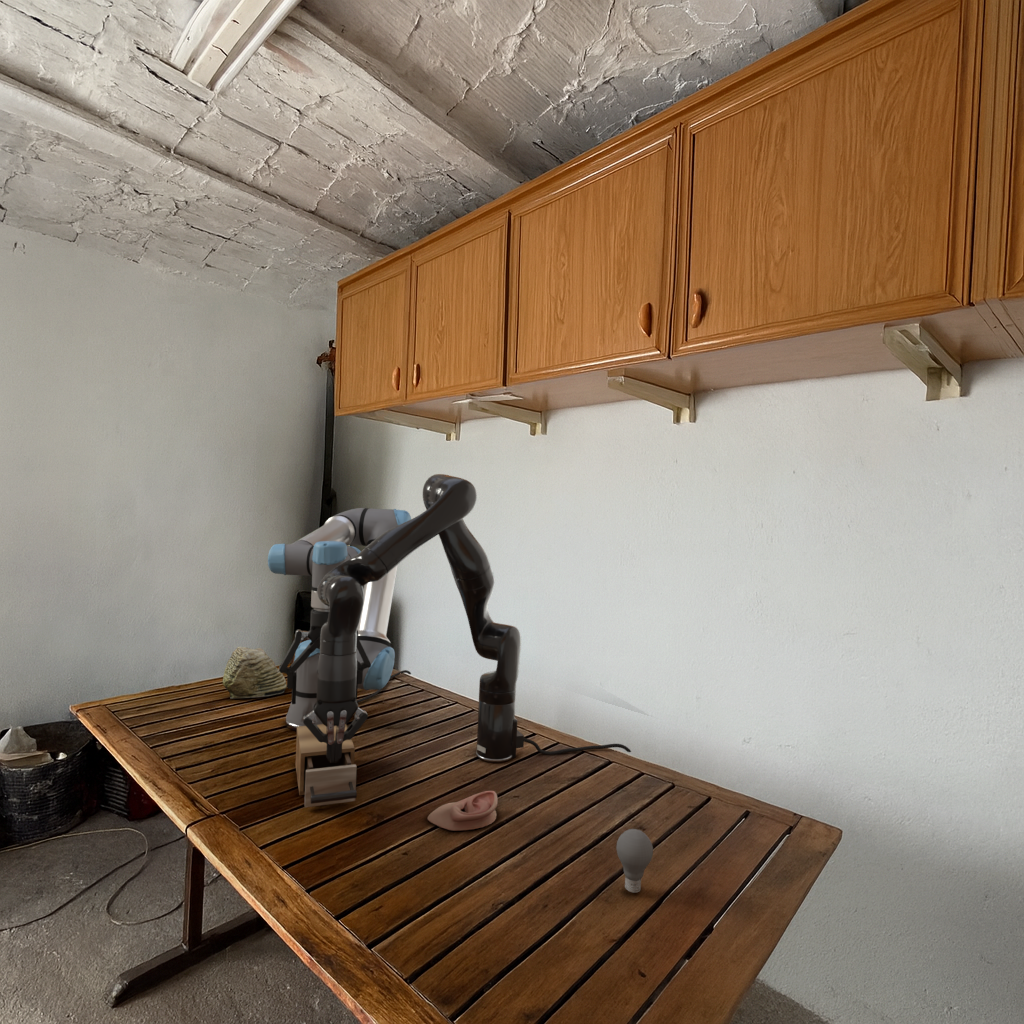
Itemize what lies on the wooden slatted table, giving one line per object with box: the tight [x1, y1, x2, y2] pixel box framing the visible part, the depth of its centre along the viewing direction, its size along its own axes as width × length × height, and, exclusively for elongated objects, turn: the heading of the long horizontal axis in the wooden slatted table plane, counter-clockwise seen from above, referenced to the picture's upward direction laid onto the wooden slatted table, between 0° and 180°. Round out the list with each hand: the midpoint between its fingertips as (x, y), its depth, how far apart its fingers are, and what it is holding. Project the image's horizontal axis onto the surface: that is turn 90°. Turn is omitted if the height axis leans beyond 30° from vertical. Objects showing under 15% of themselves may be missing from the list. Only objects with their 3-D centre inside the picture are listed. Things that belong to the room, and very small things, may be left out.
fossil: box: [222, 646, 287, 699], centre depth 198 cm, size 9×18×15 cm, turn 132°
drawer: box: [303, 752, 358, 808], centre depth 133 cm, size 21×10×7 cm, turn 22°
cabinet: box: [295, 724, 356, 796], centre depth 143 cm, size 16×11×9 cm
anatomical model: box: [427, 790, 499, 832], centre depth 127 cm, size 13×4×12 cm
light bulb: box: [615, 828, 654, 894], centre depth 106 cm, size 6×6×10 cm
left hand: (324, 700), depth 146 cm, fingers open, 13 cm apart
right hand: (333, 760), depth 126 cm, fingers closed
